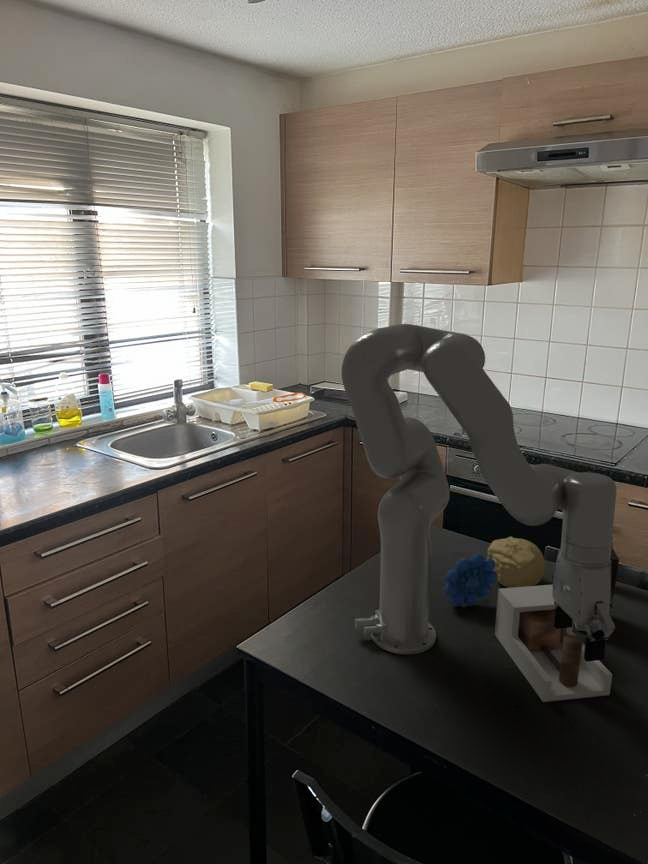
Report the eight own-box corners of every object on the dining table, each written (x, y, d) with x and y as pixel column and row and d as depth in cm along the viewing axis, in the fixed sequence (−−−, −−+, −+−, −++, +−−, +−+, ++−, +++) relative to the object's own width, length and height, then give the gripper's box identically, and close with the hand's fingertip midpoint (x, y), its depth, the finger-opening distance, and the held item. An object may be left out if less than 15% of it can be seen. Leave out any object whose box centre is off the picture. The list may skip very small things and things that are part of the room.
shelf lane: (543, 701, 107) (548, 649, 105) (494, 634, 126) (498, 588, 124) (609, 694, 109) (616, 643, 106) (551, 629, 128) (556, 584, 125)
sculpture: (478, 580, 147) (481, 537, 144) (511, 566, 154) (515, 524, 151) (519, 601, 138) (523, 555, 136) (552, 585, 145) (557, 541, 142)
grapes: (487, 593, 142) (491, 543, 138) (499, 609, 135) (504, 557, 132) (436, 597, 140) (439, 546, 137) (446, 613, 134) (449, 561, 130)
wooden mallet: (556, 688, 109) (560, 646, 107) (514, 633, 124) (517, 596, 122) (589, 684, 110) (594, 643, 108) (543, 631, 125) (546, 594, 123)
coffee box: (610, 634, 126) (620, 560, 122) (575, 631, 128) (584, 556, 123) (600, 610, 135) (609, 539, 131) (568, 607, 136) (576, 537, 132)
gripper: (538, 530, 112) (532, 618, 116) (593, 575, 95) (584, 676, 99) (578, 526, 113) (571, 614, 117) (640, 571, 96) (629, 671, 100)
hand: (577, 642), depth 108 cm, fingers open, 9 cm apart
